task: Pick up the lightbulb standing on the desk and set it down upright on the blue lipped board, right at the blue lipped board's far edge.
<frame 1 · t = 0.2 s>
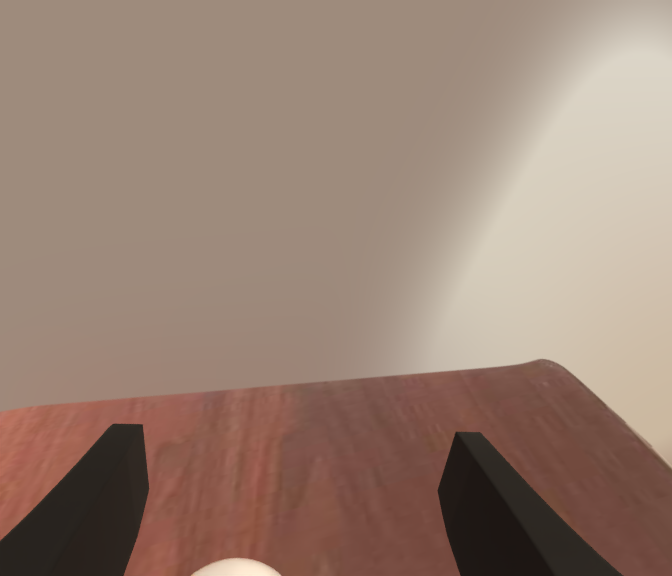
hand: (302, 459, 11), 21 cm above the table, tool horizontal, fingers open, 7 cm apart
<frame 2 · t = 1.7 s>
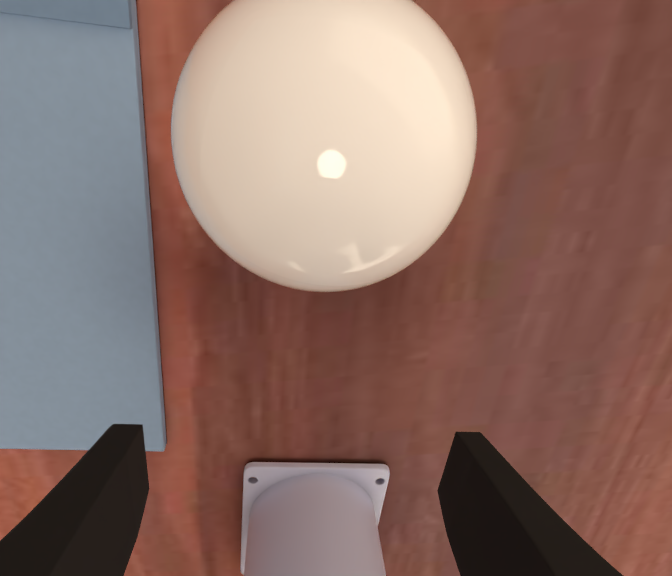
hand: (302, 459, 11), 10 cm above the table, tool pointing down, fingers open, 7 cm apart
blue lipped board: (0, 257, 19), on the table
lightbulb: (311, 106, 17), on the table
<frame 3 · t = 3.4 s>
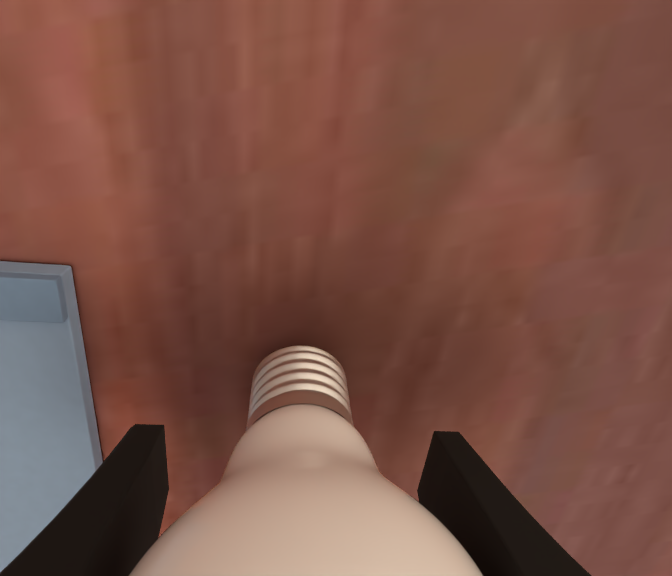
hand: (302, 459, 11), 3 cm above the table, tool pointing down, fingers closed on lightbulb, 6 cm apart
lightbulb: (299, 365, 14), on the table, touching gripper
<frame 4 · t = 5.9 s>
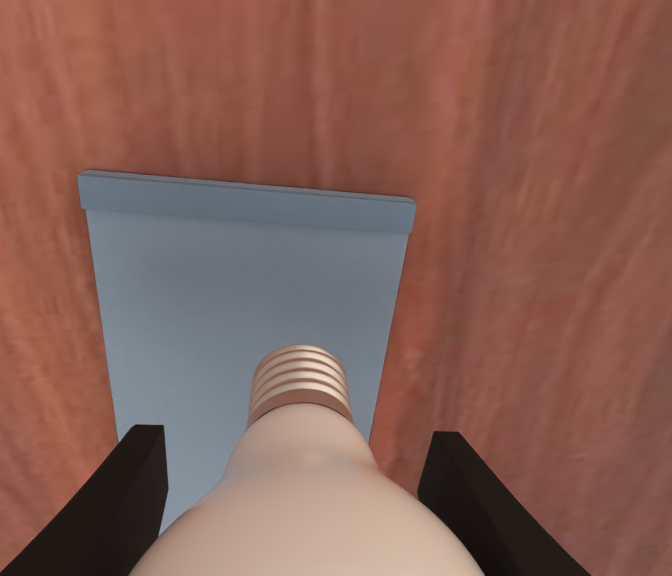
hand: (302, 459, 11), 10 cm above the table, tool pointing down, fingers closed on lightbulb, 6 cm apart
blue lipped board: (249, 392, 22), on the table
lightbulb: (299, 364, 14), point 6 cm above the table, touching gripper
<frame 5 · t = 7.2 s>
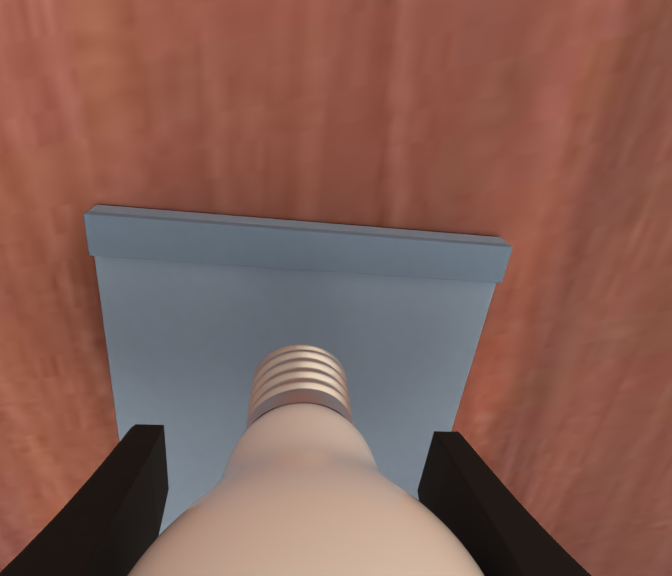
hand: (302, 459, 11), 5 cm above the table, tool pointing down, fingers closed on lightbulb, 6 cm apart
blue lipped board: (287, 462, 18), on the table
lightbulb: (299, 364, 14), point 2 cm above the table, touching gripper
when the fingers open (4 cm above the table, at t = 8.3 s): lightbulb stays where it is, resting on blue lipped board.
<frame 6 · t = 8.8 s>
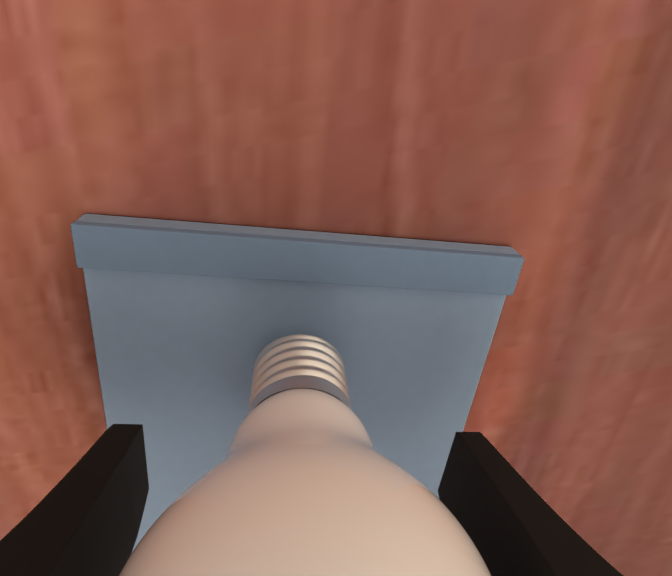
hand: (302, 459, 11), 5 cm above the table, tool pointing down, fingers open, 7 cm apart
blue lipped board: (287, 478, 17), on the table
lightbulb: (298, 354, 14), resting on blue lipped board
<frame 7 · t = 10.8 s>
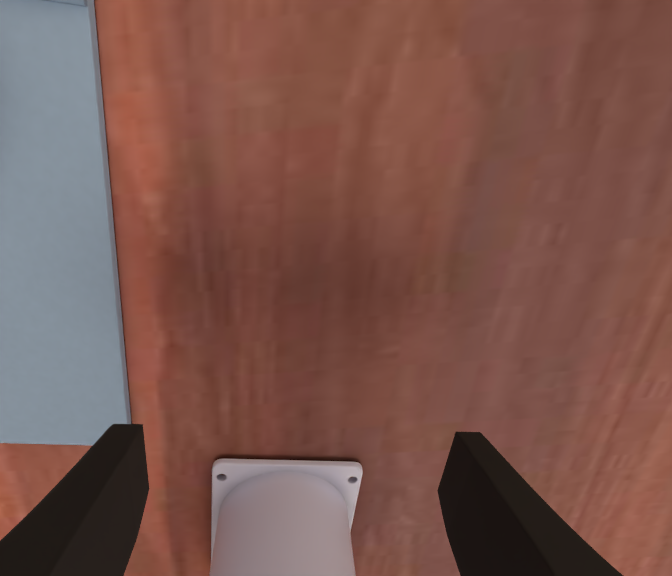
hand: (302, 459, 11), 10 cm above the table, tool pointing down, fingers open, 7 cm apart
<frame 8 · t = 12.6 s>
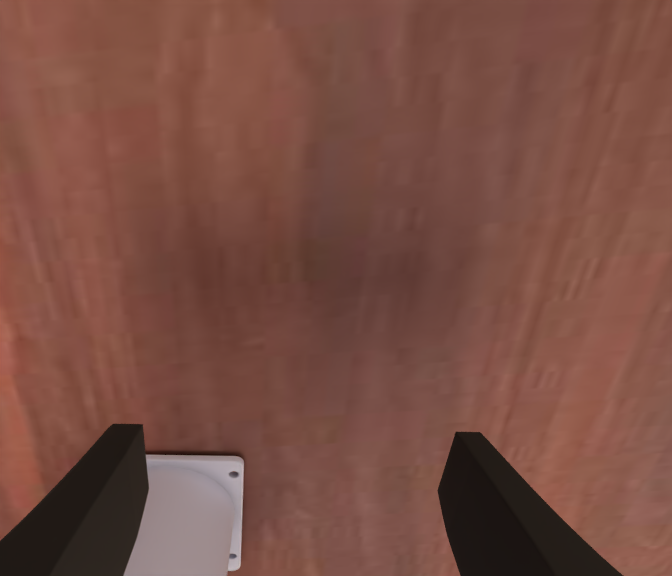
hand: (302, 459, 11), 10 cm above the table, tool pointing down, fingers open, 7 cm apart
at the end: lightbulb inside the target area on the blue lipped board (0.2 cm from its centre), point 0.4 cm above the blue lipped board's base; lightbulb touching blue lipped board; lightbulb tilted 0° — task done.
